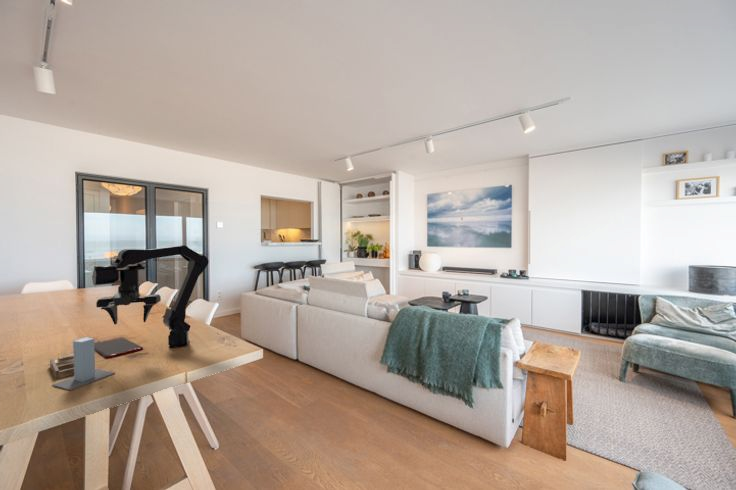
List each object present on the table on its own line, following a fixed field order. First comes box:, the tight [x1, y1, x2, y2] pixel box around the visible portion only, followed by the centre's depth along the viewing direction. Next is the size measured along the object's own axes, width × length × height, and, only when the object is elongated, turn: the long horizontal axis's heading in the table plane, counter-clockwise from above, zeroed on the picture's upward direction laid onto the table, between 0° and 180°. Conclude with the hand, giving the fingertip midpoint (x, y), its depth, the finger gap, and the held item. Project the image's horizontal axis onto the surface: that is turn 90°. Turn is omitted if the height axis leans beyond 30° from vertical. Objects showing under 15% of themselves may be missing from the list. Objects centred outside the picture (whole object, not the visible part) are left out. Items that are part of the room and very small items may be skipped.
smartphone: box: [94, 336, 144, 359], centre depth 128 cm, size 12×2×25 cm
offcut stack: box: [54, 353, 74, 366], centre depth 110 cm, size 6×4×3 cm, turn 141°
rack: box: [49, 358, 74, 380], centre depth 107 cm, size 7×15×2 cm, turn 51°
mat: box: [51, 368, 116, 391], centre depth 99 cm, size 12×9×1 cm
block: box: [72, 336, 96, 382], centre depth 99 cm, size 4×4×12 cm
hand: (130, 323), depth 117 cm, fingers open, 9 cm apart
